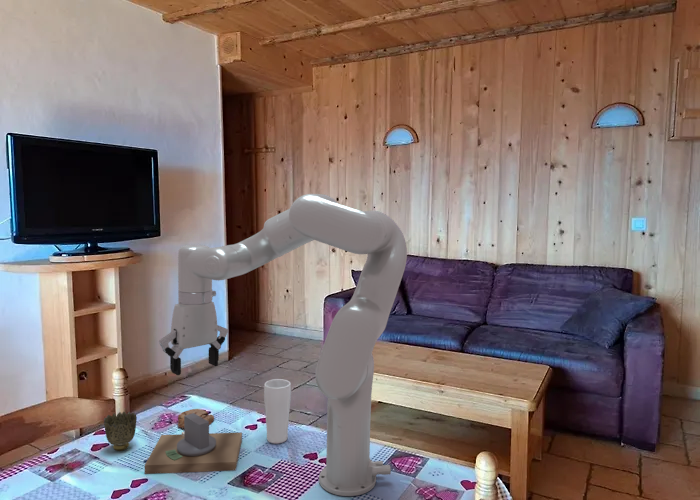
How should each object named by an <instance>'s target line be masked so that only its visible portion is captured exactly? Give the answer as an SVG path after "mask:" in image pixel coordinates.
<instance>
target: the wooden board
mask: <svg viewBox="0 0 700 500" xmlns="http://www.w3.org/2000/svg"><path fill="white" fill-rule="evenodd" d="M209 436H212V437H214V438H215V439H216V447H215V449H214V450H212V451H211V452H209V453H207V454H204V455H200V456H184V455H181V454H179V453H178V452H177V443H178V442H179V441H180V440H181V439H183V438H184V436H183V435H182V433H179V434H161V435H160V437H159V439H158V441H156V444H155V446H154V447H153V449H152V452H151V453H150V454H149V457H148V458H147V460H146V462H145V464H144V475H149V474H150V475H151V474H154V475H155V474H175V473H176V474H178V473H179V474H180V473H200V472H201V473H202V472H203V473H204V472H225V471H226V472H228V471H236V470H237V465H238V460H239V456H240V451H241V447H242V441H243V432H217V433H216V432H213V433H210V432H209Z"/></svg>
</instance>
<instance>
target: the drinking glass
mask: <svg viewBox="0 0 700 500" xmlns="http://www.w3.org/2000/svg"><path fill="white" fill-rule="evenodd" d="M291 385H292V384H291V381H289V380H287V379H282V378H274V379H270V380H267V381H266V382H264V385H263V386H264V389H263V391H264V392H263V401H264V402H263V403H264V413H265V426H266V427H265V428H266V439H267V441H268V442H269V443H271V444H282V443H284V442H286V441H287V440H288V435H289V434H288V432H289V431H288V430H289V419H290V409H291V399H292V398H291V397H292V395H291V394H292V386H291Z"/></svg>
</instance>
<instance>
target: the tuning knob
mask: <svg viewBox="0 0 700 500" xmlns="http://www.w3.org/2000/svg"><path fill="white" fill-rule="evenodd" d="M183 429H184V431H182V432H181V434H182V435H183V436H184V438H183V439H181V440H180V441H179V442H178V443H177V452H178V453H179V454H181V455H184V456H200V455H204V454H207V453H209V452H211V451H212V450H214V449H215V447H216V439H215V438H214V437H212V436H209V433H210V425H209V422H208V421H207V420H205V419H203V418H201V417H200V416H198V415H196V414H194V413H192V414H189V415H186V416H184V428H183Z"/></svg>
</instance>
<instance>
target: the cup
mask: <svg viewBox="0 0 700 500" xmlns="http://www.w3.org/2000/svg"><path fill="white" fill-rule="evenodd" d="M137 419H138V417H137V414H136V413H135V412H130V411H129V412H128V413H126V412H125V411H123V412H121V411H118V412H117V414H116V413H115V412H114V413H113V414H112V415H110V414H107V416H106V417H104V419H103V424H104V433H105V436H106V440H107V442H108V443H109V444H111V445H112V448H113V450H114V451H116V452H122V451H126V450H127V449H128V448H129V446H130V442H131V441H132V440H133V439H134V437H135V434H136V428H137Z"/></svg>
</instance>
